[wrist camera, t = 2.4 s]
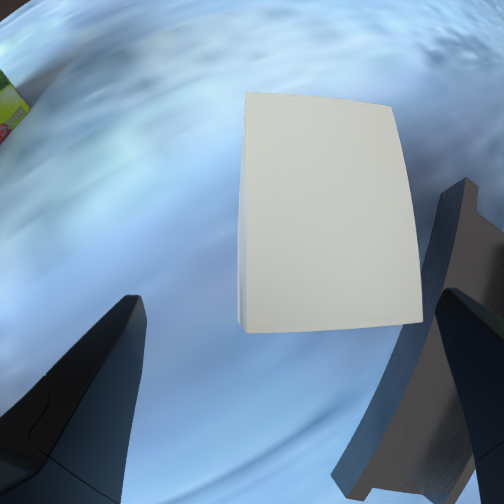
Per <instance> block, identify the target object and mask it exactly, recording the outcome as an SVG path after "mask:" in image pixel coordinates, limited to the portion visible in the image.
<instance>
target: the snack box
mask: <svg viewBox="0 0 504 504" xmlns="http://www.w3.org/2000/svg"><path fill="white" fill-rule="evenodd" d="M29 110H30V107H29V105H28V104H27V103H26V101H25V100H24V99H23V97H22V96H21V95H20V94H19V92H18V91H17V90H16V88H15V87H14V86H13V84H12V83H11V82H10V81H9V79H8V78H7V77H6V76H5V74H4V73H3V72H2V70H1V69H0V144H1V143H2V141H3V140H4V139H5V138H6V137H7V135H8V134H9V133H10V132H11V131H12V130H13V128H14V127H15V126H16V125H17V124H18V123H19V122H20V121H21V120H22V118H23V117H24V116H25V115H26V114H27V113H28V112H29Z"/></svg>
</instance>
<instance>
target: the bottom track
mask: <svg viewBox="0 0 504 504" xmlns="http://www.w3.org/2000/svg"><path fill="white" fill-rule="evenodd" d="M477 195H478V186H477V185H476V184H474V183H473V182H472V181H470V180H469V179H467V178H466V177H465V178H464V179H462V180H461V181H459V182H458V183H456V184H455V185H453V186H452V187H450V188H449V189H447V190H446V191H444V192H443V193H441V195H440V200H439V205H438V209H437V214H436V218H435V222H434V227H433V231H432V235H431V239H430V242H429V246H428V250H427V254H426V257H425V261H424V264H423V268H422V271H421V289H422V309H423V322H419V323H410V324H404V325H403V328H402V330H401V333H400V336H399V338H398V341H397V343H396V346H395V348H394V351H393V353H392V356H391V358H390V360H389V363H388V365H387V367H386V370H385V372H384V374H383V377H382V379H381V381H380V383H379V385H378V388H377V390H376V392H375V394H374V396H373V398H372V400H371V402H370V404H369V406H368V408H367V410H366V412H365V414H364V416H363V418H362V420H361V422H360V424H359V426H358V428H357V430H356V432H355V434H354V435H353V437H352V439H351V441H350V443H349V444H348V446H347V448H346V450H345V452H344V453H343V455H342V457H341V458H340V460H339V462H338V464H337V465H336V467H335V469H334V470H333V472H332V473H331V477H332V478H333V480H334V481H335V483H336V484H337V486H338V487H339V489H340V490H341V492H342V493H343V495H344V496H345V497H346V498H348V499H353V500H359V501H364V500H365V499H366V497H367V496H368V494H369V493H370V491H371V489H372V488H378V489H384V490H391V491H398V492H405V493H413V494H422V495H424V496H425V497H426V498H427V499H429V500H430V501H431V502H432V503H433V504H455V502H456V501H457V499H458V498H459V496H460V494H461V493H462V491H463V489H464V488H465V486H466V484H467V483H468V481H469V479H470V477H471V476H472V474H473V472H474V470H475V462H474V457H473V452H472V448H471V443H470V439H469V435H468V430H467V426H466V422H465V418H464V415H463V411H462V407H461V403H460V400H459V396H458V393H457V390H456V386H455V383H454V380H453V377H452V373H451V370H450V367H449V364H448V361H447V358H446V355H445V351H444V347H443V343H442V339H441V335H440V332H439V328H438V324H437V321H436V317H435V306H436V304H437V302H438V300H439V298H440V296H441V294H442V292H443V290H444V289H445V288H452V287H455V288H457V289H459V290H460V291H462V292H463V293H465V294H466V295H468V296H469V297H471V298H472V299H474V300H475V301H477V302H478V303H480V304H481V305H483V306H484V307H486V308H487V309H489V310H490V311H491V312H493V313H494V314H496V315H497V316H499V317H500V318H501V319H503V320H504V233H503V232H502V231H500V230H499V229H498V228H496V227H495V226H494V225H493V224H491V223H490V222H489V221H487V220H486V219H485V218H483V217H482V216H481V215H479V214H478V213H477V212H475V210H476V203H477Z"/></svg>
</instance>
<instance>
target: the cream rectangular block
mask: <svg viewBox="0 0 504 504" xmlns="http://www.w3.org/2000/svg"><path fill="white" fill-rule="evenodd" d="M238 322H239V323H240V325H241V326H242V327H243V328H244V330H245V331H246V332H247V333H280V332H306V331H326V330H342V329H356V328H368V327H380V326H391V325H401V324H410V323H419V322H423V309H422V289H421V274H420V262H419V252H418V243H417V234H416V226H415V219H414V212H413V205H412V199H411V193H410V188H409V182H408V177H407V171H406V166H405V162H404V157H403V152H402V148H401V143H400V139H399V135H398V131H397V127H396V123H395V119H394V115H393V112H392V108H391V107H390V106H384V105H378V104H372V103H366V102H359V101H352V100H345V99H337V98H328V97H318V96H307V95H294V94H278V93H254V92H246V95H245V110H244V126H243V142H242V159H241V176H240V194H239V213H238Z"/></svg>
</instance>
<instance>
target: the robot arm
mask: <svg viewBox="0 0 504 504" xmlns="http://www.w3.org/2000/svg"><path fill="white" fill-rule="evenodd" d="M435 317H436V321H437V324H438V328H439V332H440V335H441V339H442V343H443V347H444V351H445V355H446V358H447V361H448V364H449V367H450V370H451V373H452V377H453V380H454V383H455V386H456V390H457V393H458V396H459V400H460V403H461V407H462V411H463V415H464V418H465V422H466V426H467V430H468V435H469V439H470V443H471V448H472V452H473V457H474V462H475V469H476V474H477V480H478V486H479V493H480V500H481V504H504V320H503V319H501V318H500V317H499V316H497V315H496V314H494V313H493V312H491V311H490V310H489V309H487V308H486V307H484V306H483V305H481V304H480V303H478V302H477V301H475V300H474V299H472V298H471V297H469V296H468V295H466V294H465V293H463V292H462V291H460V290H459V289H457V288H455V287H452V288H445V289H444V290H443V292H442V294H441V296H440V298H439V300H438V302H437V304H436V306H435ZM146 327H147V317H146V313H145V309H144V305H143V301H142V298H141V296H139V295H125V296H124V297H123V298H122V299H121V300H120V301H119V302H118V303H117V304H115V305H114V306H113V307H112V308H111V309H110V310H109V311H108V312H107V313H106V314H105V315H104V316H103V317H102V318H101V319H100V320H99V321H98V322H97V323H96V324H95V325H94V326H93V327H92V328H91V329H90V330H89V331H88V332H87V333H85V334H84V335H83V336H82V337H81V338H80V339H79V340H78V341H77V342H76V343H75V344H74V345H73V346H72V347H71V348H70V349H69V350H68V351H67V352H66V353H65V354H64V355H63V356H62V358H61V359H60V360H59V361H58V362H57V363H56V364H55V365H54V366H53V367H52V368H51V369H50V370H49V371H48V372H47V373H46V376H43V377H42V378H41V379H40V380H39V381H38V382H37V383H36V384H35V385H34V386H33V387H32V388H31V389H30V390H29V391H28V392H27V393H26V394H25V395H24V396H23V397H22V398H21V399H20V400H19V401H18V402H17V403H16V404H15V405H14V406H13V407H11V408H10V409H9V410H8V411H7V412H6V413H5V414H4V415H2V416H1V417H0V504H120V503H121V495H122V487H123V479H124V472H125V465H126V458H127V452H128V445H129V439H130V433H131V428H132V422H133V416H134V411H135V406H136V400H137V395H138V390H139V385H140V380H141V375H142V367H143V356H144V346H145V336H146Z"/></svg>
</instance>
